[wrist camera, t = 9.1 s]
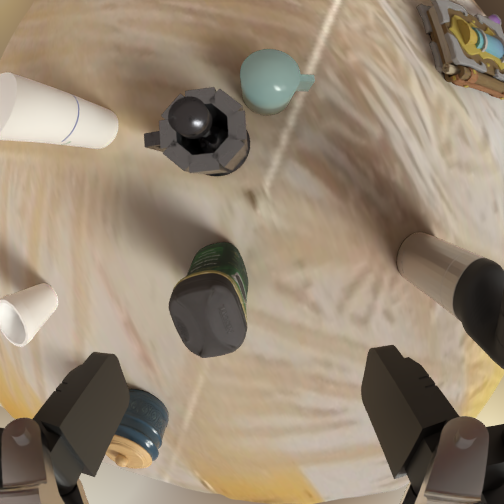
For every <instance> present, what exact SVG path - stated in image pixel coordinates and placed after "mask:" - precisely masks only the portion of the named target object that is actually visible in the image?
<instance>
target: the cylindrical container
mask: <svg viewBox="0 0 504 504" xmlns="http://www.w3.org/2000/svg"><path fill="white" fill-rule="evenodd" d="M117 132H118V119H117V116H116V115H115V113H114V112H113V111H111V110H109V109H107V108H104V107H102V106H99V105H97V104H94V103H92V102H90V101H87V100H85V99H82V98H80V97H77V96H75V95H72V94H70V93H67V92H64V91H62V90H59V89H56V88H54V87H51V86H48V85H45V84H42V83H40V82H37V81H34V80H31V79H28V78H25V77H22V76H20V75H17V74H13V73H10V72H5V73H2V74H1V75H0V140H12V141H26V142H39V143H50V144H59V145H69V146H77V147H85V148H93V149H102V148H104V147H106V146H108V145H109V144H110V143H111V142H112V141H113V140H114V138H115V137H116V134H117Z"/></svg>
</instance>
